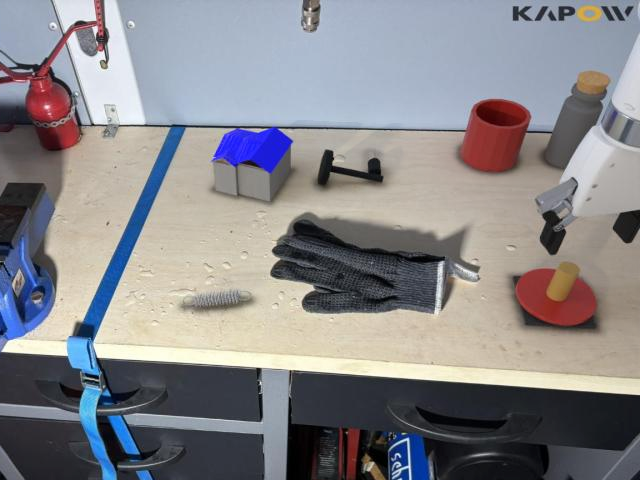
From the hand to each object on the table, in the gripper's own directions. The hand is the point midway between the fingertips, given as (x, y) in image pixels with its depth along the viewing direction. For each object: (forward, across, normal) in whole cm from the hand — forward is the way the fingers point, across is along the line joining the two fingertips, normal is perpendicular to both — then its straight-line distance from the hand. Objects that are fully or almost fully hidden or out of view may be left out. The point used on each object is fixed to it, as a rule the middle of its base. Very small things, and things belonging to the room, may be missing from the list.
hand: (584, 241), depth 76 cm
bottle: (+12, -17, -31) cm, 37 cm away
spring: (+10, +46, -8) cm, 48 cm away
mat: (+11, +1, 0) cm, 11 cm away
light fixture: (+11, +20, -35) cm, 42 cm away
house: (+11, +37, -36) cm, 53 cm away
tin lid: (+10, +1, 0) cm, 10 cm away
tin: (+11, -5, -34) cm, 36 cm away
